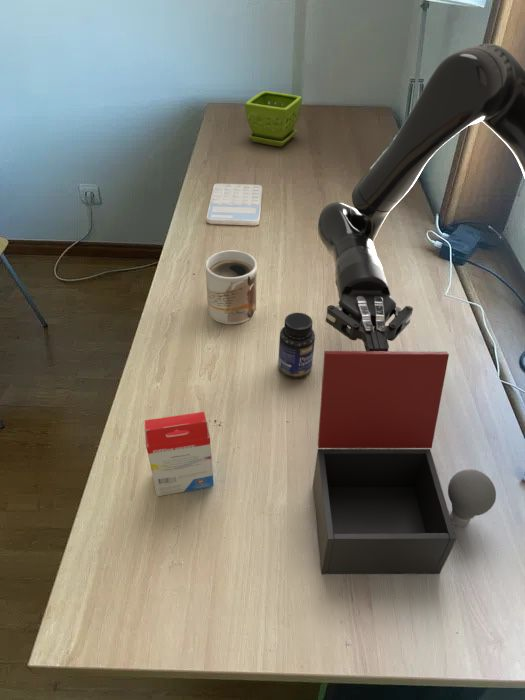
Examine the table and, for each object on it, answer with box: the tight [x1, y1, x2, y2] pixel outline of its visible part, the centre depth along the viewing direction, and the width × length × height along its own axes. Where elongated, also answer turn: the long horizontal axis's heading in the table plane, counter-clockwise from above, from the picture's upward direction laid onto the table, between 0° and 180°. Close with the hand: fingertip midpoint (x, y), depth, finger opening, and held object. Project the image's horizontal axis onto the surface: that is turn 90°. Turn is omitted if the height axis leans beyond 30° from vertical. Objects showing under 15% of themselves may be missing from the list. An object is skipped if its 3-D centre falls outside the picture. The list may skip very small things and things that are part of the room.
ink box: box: [144, 411, 215, 497], centre depth 79 cm, size 8×5×15 cm, turn 102°
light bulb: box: [447, 468, 497, 528], centre depth 76 cm, size 6×6×10 cm
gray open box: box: [312, 448, 457, 575], centre depth 75 cm, size 14×16×9 cm
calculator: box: [205, 183, 263, 226], centre depth 146 cm, size 13×20×2 cm, turn 178°
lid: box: [317, 350, 450, 449], centre depth 74 cm, size 14×16×1 cm
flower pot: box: [244, 90, 303, 148], centre depth 177 cm, size 14×14×13 cm
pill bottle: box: [277, 312, 316, 380], centre depth 98 cm, size 6×6×11 cm
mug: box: [204, 249, 258, 325], centre depth 111 cm, size 10×12×11 cm
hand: (379, 355), depth 75 cm, fingers closed
